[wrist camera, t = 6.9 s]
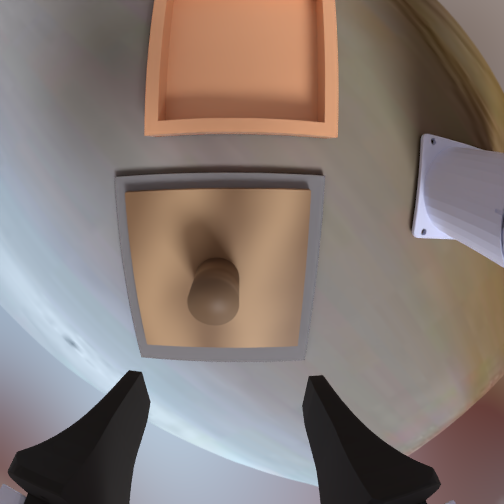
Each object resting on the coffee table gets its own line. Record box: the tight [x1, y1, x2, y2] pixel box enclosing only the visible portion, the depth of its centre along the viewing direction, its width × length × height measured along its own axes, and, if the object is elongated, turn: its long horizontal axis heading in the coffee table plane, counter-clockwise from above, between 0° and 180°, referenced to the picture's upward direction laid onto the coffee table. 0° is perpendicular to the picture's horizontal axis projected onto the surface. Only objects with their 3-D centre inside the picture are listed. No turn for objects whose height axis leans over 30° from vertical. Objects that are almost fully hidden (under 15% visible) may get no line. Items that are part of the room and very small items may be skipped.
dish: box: [145, 0, 338, 139], centre depth 14 cm, size 11×11×3 cm
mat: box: [115, 172, 325, 362], centre depth 21 cm, size 14×15×1 cm
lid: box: [125, 188, 311, 348], centre depth 18 cm, size 12×12×4 cm
